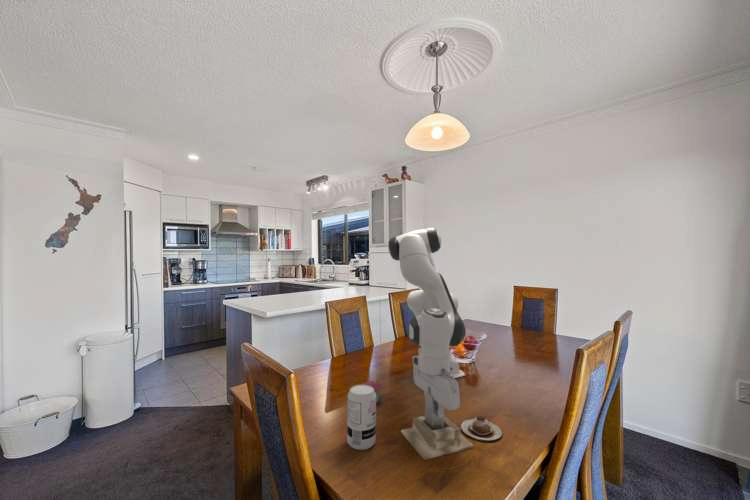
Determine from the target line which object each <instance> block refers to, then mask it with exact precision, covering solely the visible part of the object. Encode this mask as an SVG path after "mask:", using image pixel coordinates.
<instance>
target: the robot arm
mask: <svg viewBox="0 0 750 500" xmlns="http://www.w3.org/2000/svg"><path fill="white" fill-rule="evenodd" d="M441 246H442V238H441V234H440V232H439V231H438V230H437V229H436V228H434V227H426V228H423V229H415V230H411V231H409V232H405V233H403V234H400V235H395V236H392V237H391V238H390V239H389V241H388V245H387V247H388V253H389V255H390V257H391V259H393V260H394V261H399V268H400V272H401V275H402V277H403V279H404V280H405V281H406V282H408V283H409V284H411V285H412V286H415V287H418V288H420V289H416V290H412V291H410V292H409V293H408V296H407V298H406V303H407V306H408V309H410V311H411V312H412V313H413V314H414V316H413V317H412V318H411V319H410V320H409V321H408V324H407V325H408V326H407V327H408V329H407V330H408V331H407V333H408V334H407V337H408V339H409V341H411V342H412V344H414V345H415V346H418V355H413V356H412V363H413V365H412V366H413V372H412V373H413V376H412V377H413V382H414V384H415V385H416V386H417V387H418V388H419V389H421V391H422V392H423V395H424V397H425V391H426V392H427V393H428V387H430V388H431V391H430V395H431V396H433V399H434V400H435V401H437V402H438V406H439V407H438V409H436V415H437V416H438V417H439V418H441V417H444V416H445V410H446V411H449V412H450V411H457V410H459V409H460V407H461V398H460V397H461V395H460V387H459V383H458V381H457V379H455V378H458V377H461V378H463V377H462V376H466V374H465V372H464V371H463V370H461V369H460V365H459V361H458V359H456V358H455V357H453V356H452V355H451V352H450V351H451V350H452V347H458V346H459V345H460V344H461V343H462V342H463V341H464V339H465V338H466V335H467V334H466V327H465V323H464V321H463V319H462V317H461V316H460V314H459V312H458V310H459V309H458V308H459V301H458V298H457V296H456V294H455V293H452V292H450V290H449V288H448V285H447V283H446V281H445V278H444V277H443V275H442V274H441V273H440V272H438V271H437V269H436V266H435V262H434V261H435V260H434V257H433V254H434V253H437V252H438V251H439V250H440V249H441V248H442V247H441ZM458 379H459V378H458Z"/></svg>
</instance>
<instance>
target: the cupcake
mask: <svg viewBox="0 0 750 500" xmlns="http://www.w3.org/2000/svg"><path fill="white" fill-rule="evenodd" d="M377 375H378V370H375V373H374V380H366V381H365V382H363V383H362V384H361V385H369V386H371V387H373V388H374V391H375V393H376V403H378V402H379V399H380V396H381V394H382V393H383V392H384V386H383V384H382V383H380V382H379V380H378V381H377V377H378V376H377Z"/></svg>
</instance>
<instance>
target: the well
mask: <svg viewBox="0 0 750 500" xmlns="http://www.w3.org/2000/svg"><path fill="white" fill-rule="evenodd" d="M400 433H401V435H403V437H404V438H405V439H406V441H407V442H408V443H409V445H411V446H412V447H413V449H414V450H415V451H416V452H417V454H418V455H419V456H420V457H421V459H422V460H423V461H426V460H429V459H435V458H437V457H441V456H445V455H449V454H453V453H457V452H462V451H465V450H470V449H473V448H474V447H475V446H474V444H473V443H472V442H470V440H468V439H467V438H466V437H464V436H463V434H462V433H461V427H458V426H457V424H456V423H454V422H453V421H451V420H450V419H449V418H448V417H446V415H444V428H442V429H438V430H433V431H432V430H431V429H430V428H429V427H428V426H427V425H426V424H425V415H423V416H418V417H413V418H412V427H409V428H405V429H400Z"/></svg>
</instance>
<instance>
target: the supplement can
mask: <svg viewBox="0 0 750 500" xmlns="http://www.w3.org/2000/svg"><path fill="white" fill-rule="evenodd" d="M346 404H347V406H346V407H347V413H346V414H347V417H346V426H347V427H346V442H347V444H348V445H349V446H350V447H351V448H352V449H354V450H358V451H364V450H365V451H366V450H368V449H370V448H372V447H373V446H374V445H375V444H376V442H377V441H376V438H377V436H376V433H377V431H376V430H377V428H376V427H377V425H376V424H377V402H376V393H375V391H374V388H373V387H371V386H369V385H362V384H356V385H353V386H351V387H350V388H349V391H348V393H347V403H346Z"/></svg>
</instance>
